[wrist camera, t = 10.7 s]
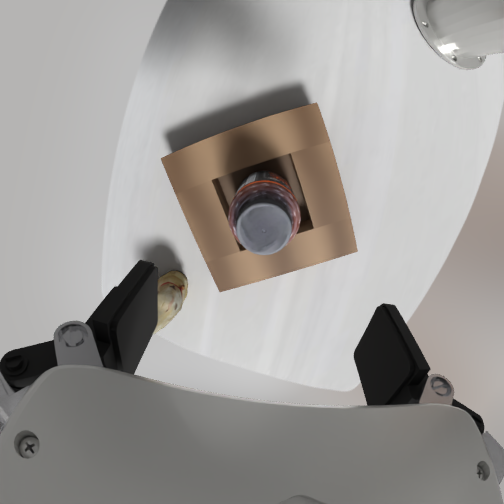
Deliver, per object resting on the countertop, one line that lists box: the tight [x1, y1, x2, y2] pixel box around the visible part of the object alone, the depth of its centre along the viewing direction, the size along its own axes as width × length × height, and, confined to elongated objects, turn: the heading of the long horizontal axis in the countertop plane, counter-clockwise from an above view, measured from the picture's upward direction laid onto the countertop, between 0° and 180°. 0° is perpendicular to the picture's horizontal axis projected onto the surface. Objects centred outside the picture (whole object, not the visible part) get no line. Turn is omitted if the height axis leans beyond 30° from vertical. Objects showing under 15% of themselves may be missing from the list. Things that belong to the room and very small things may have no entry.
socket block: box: [161, 103, 358, 292], centre depth 29 cm, size 16×16×4 cm
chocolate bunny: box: [153, 271, 188, 334], centre depth 32 cm, size 6×8×10 cm
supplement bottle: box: [228, 170, 301, 255], centre depth 25 cm, size 6×6×11 cm
